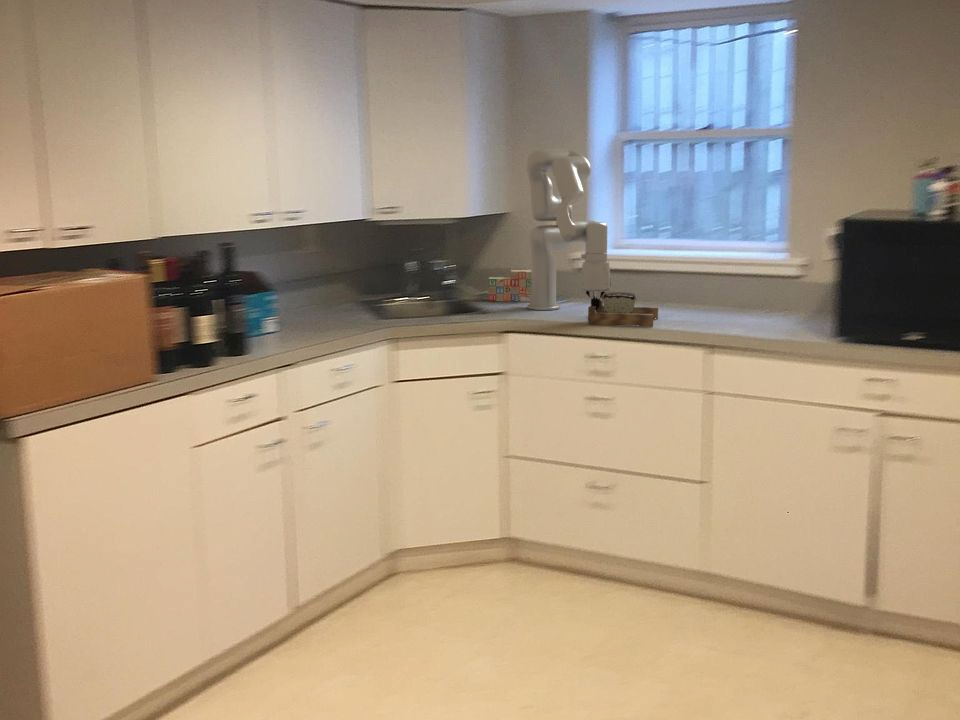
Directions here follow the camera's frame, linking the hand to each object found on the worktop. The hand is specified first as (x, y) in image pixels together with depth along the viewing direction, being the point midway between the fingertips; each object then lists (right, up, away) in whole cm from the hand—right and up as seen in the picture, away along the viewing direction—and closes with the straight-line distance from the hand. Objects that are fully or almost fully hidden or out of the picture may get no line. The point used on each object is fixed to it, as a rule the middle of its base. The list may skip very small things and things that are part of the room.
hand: (595, 309), depth 352 cm
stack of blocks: (-27, +6, +54) cm, 60 cm away
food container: (+8, -4, -1) cm, 10 cm away
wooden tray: (+10, -4, -2) cm, 11 cm away
